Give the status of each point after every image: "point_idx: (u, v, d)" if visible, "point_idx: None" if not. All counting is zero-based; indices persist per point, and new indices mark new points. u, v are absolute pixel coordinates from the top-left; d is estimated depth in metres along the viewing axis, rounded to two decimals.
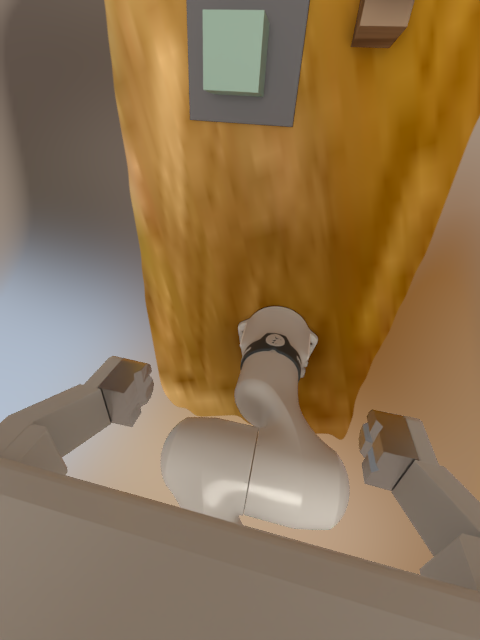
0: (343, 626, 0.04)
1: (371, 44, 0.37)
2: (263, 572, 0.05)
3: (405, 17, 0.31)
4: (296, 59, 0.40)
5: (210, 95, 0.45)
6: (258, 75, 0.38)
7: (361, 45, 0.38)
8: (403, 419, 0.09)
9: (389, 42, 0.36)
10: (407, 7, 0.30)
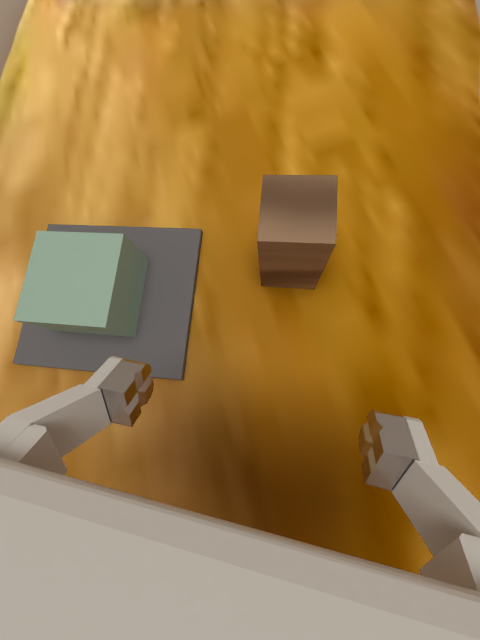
0: (343, 626, 0.04)
1: (288, 282, 0.26)
2: (263, 572, 0.05)
3: (329, 233, 0.18)
4: (185, 295, 0.27)
5: (53, 332, 0.28)
6: (108, 304, 0.22)
7: (274, 284, 0.26)
8: (403, 418, 0.09)
9: (313, 278, 0.24)
10: (328, 223, 0.18)
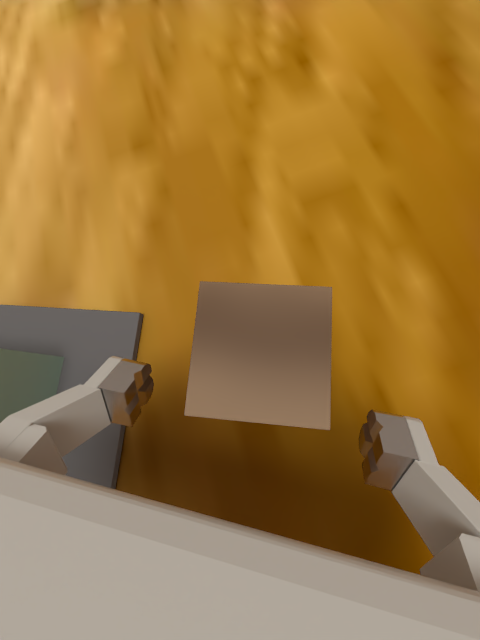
0: (343, 626, 0.04)
1: None
2: (263, 572, 0.05)
3: (317, 407, 0.10)
4: None
5: None
6: None
7: None
8: (403, 419, 0.09)
9: None
10: (315, 384, 0.10)
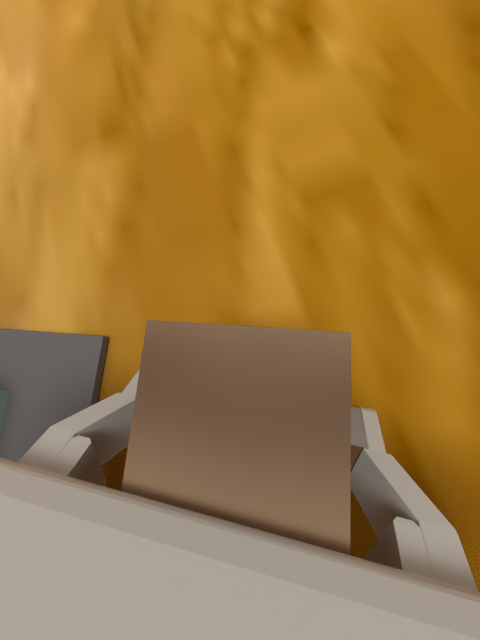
0: (343, 626, 0.04)
1: None
2: (263, 572, 0.05)
3: (328, 539, 0.06)
4: None
5: None
6: None
7: None
8: (359, 409, 0.09)
9: None
10: (325, 497, 0.06)
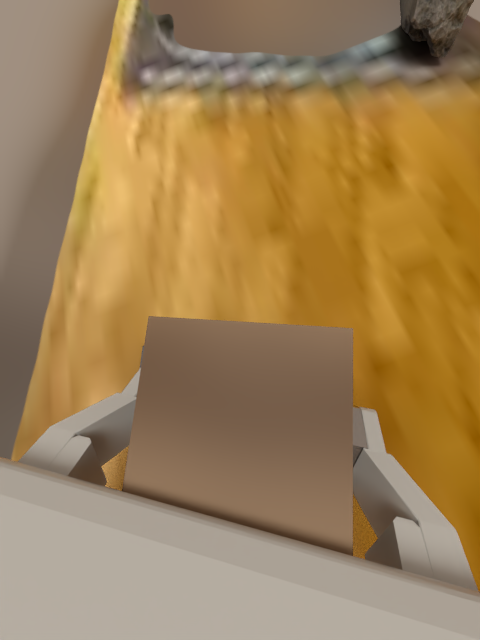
0: (343, 626, 0.04)
1: None
2: (263, 572, 0.05)
3: (331, 534, 0.06)
4: None
5: None
6: None
7: None
8: (359, 409, 0.09)
9: None
10: (328, 493, 0.06)
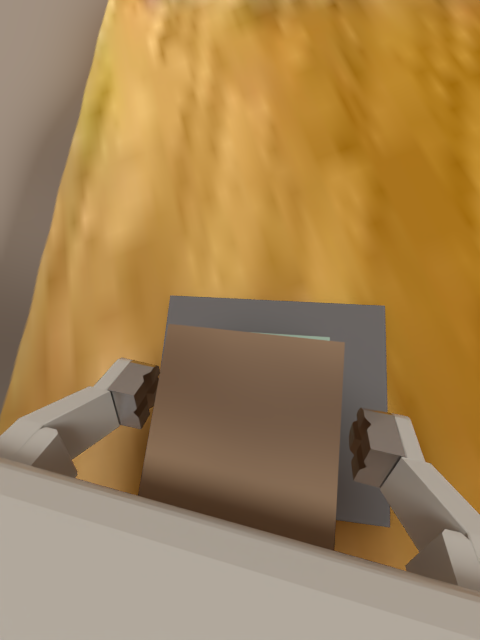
0: (343, 626, 0.04)
1: None
2: (263, 572, 0.05)
3: (317, 516, 0.07)
4: (377, 401, 0.20)
5: None
6: None
7: None
8: (392, 416, 0.09)
9: None
10: (316, 482, 0.07)
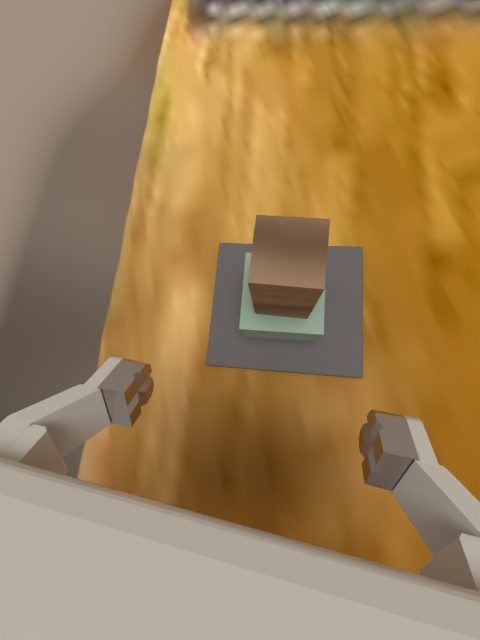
0: (343, 626, 0.04)
1: (281, 312, 0.26)
2: (263, 572, 0.05)
3: (318, 278, 0.18)
4: (356, 305, 0.32)
5: (239, 338, 0.32)
6: (322, 315, 0.27)
7: (268, 313, 0.27)
8: (403, 418, 0.09)
9: (305, 312, 0.24)
10: (318, 267, 0.18)
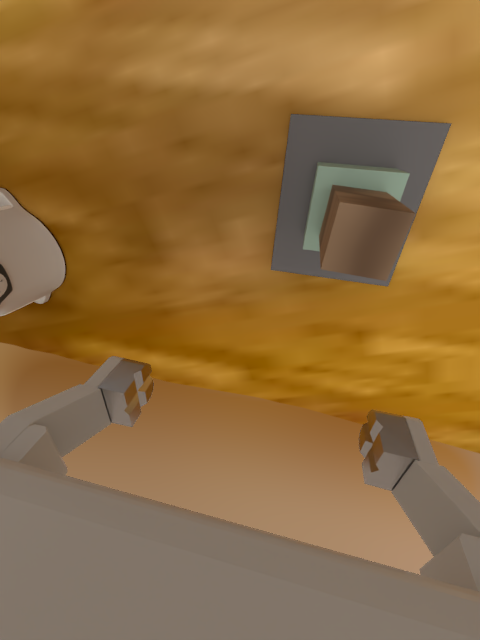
0: (343, 626, 0.04)
1: (325, 214, 0.27)
2: (263, 572, 0.05)
3: (331, 265, 0.22)
4: (332, 273, 0.37)
5: (316, 156, 0.30)
6: None
7: (329, 200, 0.27)
8: (403, 418, 0.09)
9: (320, 239, 0.27)
10: (341, 266, 0.22)
